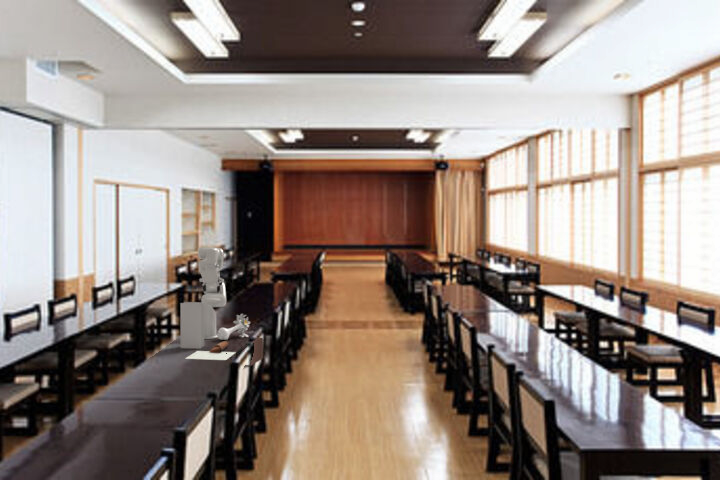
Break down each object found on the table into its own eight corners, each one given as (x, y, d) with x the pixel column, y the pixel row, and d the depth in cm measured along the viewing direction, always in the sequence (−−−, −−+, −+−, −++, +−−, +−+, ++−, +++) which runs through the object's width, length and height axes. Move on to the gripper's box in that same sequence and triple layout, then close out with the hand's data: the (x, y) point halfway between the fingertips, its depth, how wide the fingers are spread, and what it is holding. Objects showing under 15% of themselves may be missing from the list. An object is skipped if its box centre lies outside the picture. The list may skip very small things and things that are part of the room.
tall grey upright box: (204, 346, 375) (204, 302, 374) (201, 348, 369) (201, 303, 368) (183, 346, 376) (183, 302, 375) (180, 348, 371) (180, 303, 370)
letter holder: (263, 358, 347) (263, 336, 346) (250, 366, 327) (250, 342, 327) (248, 357, 349) (248, 335, 348) (234, 365, 330) (234, 341, 329)
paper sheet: (197, 351, 363) (197, 350, 363) (236, 352, 361) (236, 352, 361) (184, 358, 343) (184, 358, 343) (225, 360, 341) (225, 360, 341)
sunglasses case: (216, 345, 376) (221, 337, 375) (225, 351, 376) (230, 342, 376) (208, 352, 358) (214, 343, 357) (218, 357, 358) (223, 349, 358)
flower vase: (226, 350, 393) (254, 336, 410) (223, 327, 386) (251, 314, 404) (215, 344, 401) (243, 330, 418) (212, 322, 394) (240, 309, 412)
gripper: (225, 266, 380) (225, 291, 380) (201, 265, 382) (201, 290, 383) (221, 267, 372) (221, 292, 373) (197, 266, 375) (197, 292, 375)
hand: (211, 291), depth 378 cm, fingers open, 9 cm apart
